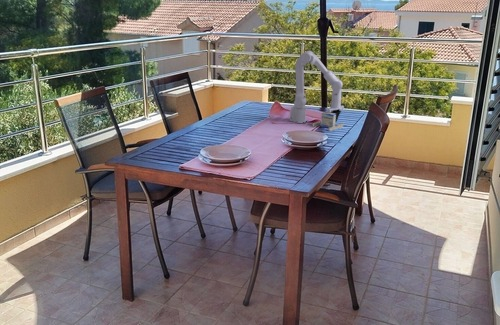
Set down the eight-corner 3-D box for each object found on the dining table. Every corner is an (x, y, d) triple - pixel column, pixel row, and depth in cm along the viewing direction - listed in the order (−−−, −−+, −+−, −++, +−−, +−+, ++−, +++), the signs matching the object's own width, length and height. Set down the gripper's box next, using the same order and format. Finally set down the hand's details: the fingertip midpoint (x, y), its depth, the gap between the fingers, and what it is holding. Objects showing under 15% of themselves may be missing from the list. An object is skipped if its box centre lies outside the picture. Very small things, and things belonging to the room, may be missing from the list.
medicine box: (320, 126, 302) (321, 113, 299) (323, 125, 306) (324, 111, 303) (332, 128, 299) (333, 114, 296) (335, 126, 302) (336, 113, 299)
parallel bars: (312, 126, 302) (312, 123, 301) (326, 122, 311) (326, 119, 310) (329, 131, 293) (330, 127, 293) (343, 126, 303) (343, 123, 302)
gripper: (334, 103, 294) (333, 125, 299) (348, 99, 304) (346, 120, 308) (325, 101, 299) (323, 122, 303) (338, 97, 308) (337, 118, 313)
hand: (334, 121), depth 306 cm, fingers closed
